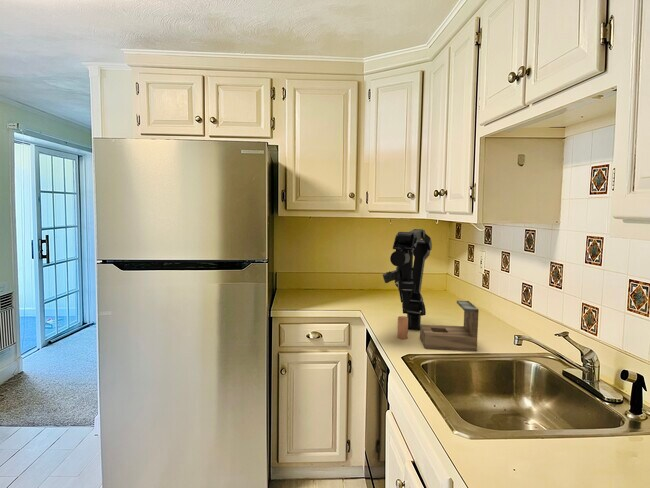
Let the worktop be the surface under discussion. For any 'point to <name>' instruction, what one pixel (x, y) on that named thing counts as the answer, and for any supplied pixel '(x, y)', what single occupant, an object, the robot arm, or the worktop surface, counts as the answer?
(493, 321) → the worktop surface
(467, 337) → the socket station
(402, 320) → the peg
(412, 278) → the robot arm
